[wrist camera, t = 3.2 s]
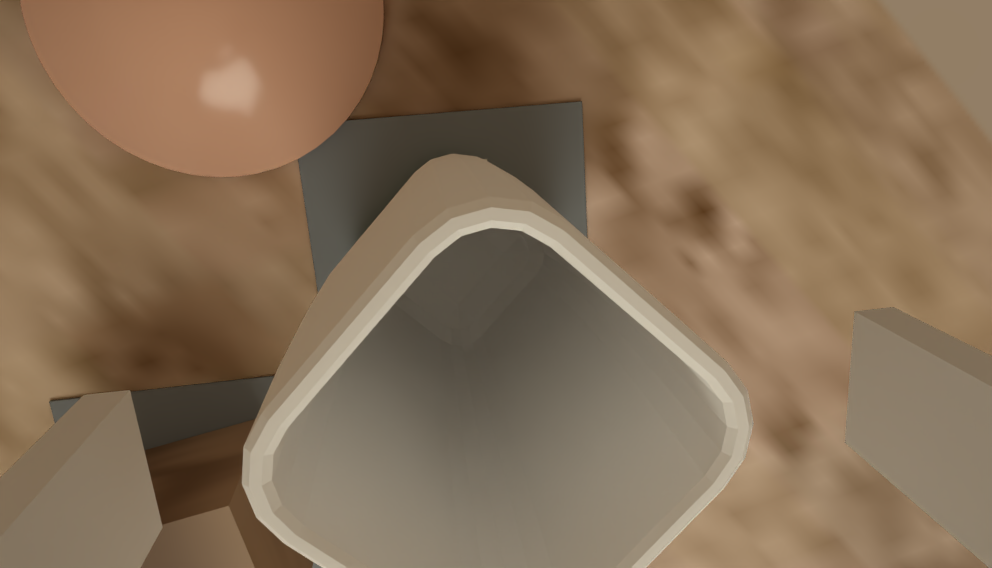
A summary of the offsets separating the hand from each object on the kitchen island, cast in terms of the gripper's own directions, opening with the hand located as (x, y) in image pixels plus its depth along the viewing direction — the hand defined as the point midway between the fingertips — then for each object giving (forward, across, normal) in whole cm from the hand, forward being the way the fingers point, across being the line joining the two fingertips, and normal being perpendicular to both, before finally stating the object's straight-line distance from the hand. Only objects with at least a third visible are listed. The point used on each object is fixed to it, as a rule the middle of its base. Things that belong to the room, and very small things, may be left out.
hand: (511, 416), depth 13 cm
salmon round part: (+14, -7, +9) cm, 18 cm away
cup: (+14, 0, 0) cm, 14 cm away
